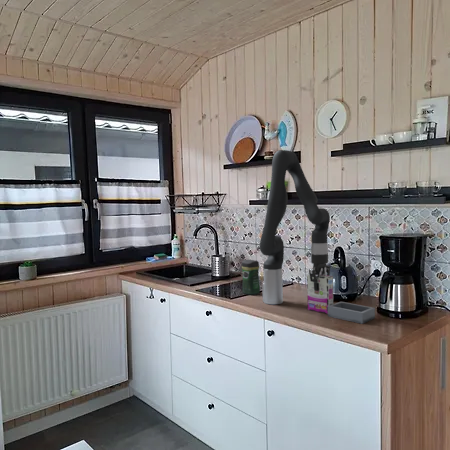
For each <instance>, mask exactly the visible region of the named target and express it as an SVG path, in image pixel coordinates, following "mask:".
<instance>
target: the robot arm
mask: <svg viewBox="0 0 450 450" xmlns="http://www.w3.org/2000/svg"><path fill="white" fill-rule="evenodd" d="M271 160H272V161H271V162H272V163H271V176H270V177H271V180H270V187H269V193H268V194H269V195H268V199H267V200H268V201H267V206H266V213H265V214H266V215H265V218H264V219H265V220H264V223H263V224H264V225H263V229H262V233H261V236H260V240H259V241H260V242H259V250H260V252H261V254H262V255H264V256H267V259H266V260H264V261H263V263H262V265H263V266H262V268H263V270H262V271H263V282H262V284H261V285H262V287H261V289H262V292H261V293H262V302H263V303H264V304H265V305H280V304H283V303H284V299H283V298H284V296H283V293H284V292H283V263H284V259H285V257H284V256H285V255H284V254H285V247H284V245H285V243H284V241H283V238H281V237H280V235H277V229H278V228H279V225H280V223H281V221H282V220H283V218H284V217H285V214H286V211H287V206H288V197H289V196H288V192H287V186H286V174H287V172H288V173H289V175H290V176H291V178H292V180H293V183H294V188H295V193H296V195H297V198H298V199H299V200H300V202H301V204H302V205H303V208H304V211H305V215H306V217H307V219H308V221H309V222H310V223H311V224H312V225H314V229H313V230H312V231H311V246H310V254H311V255H310V256H311V257H310V258H311V259H310V260H311V264H313V265H312V268H309V269H308V273H309V274H308V275H310V281H311V282H314V290H315V291H319V278H320V277H321V275H327V276H331V275H330V274H331V273H330V272H331V265H327V264H328V263H329V245H328V230H329V228H330V227H329V226H330V217H331V216H330V213H329V211H328V210H327V209H325V208H323V207H322V208H319V205H318V202H319V200H318V197H317V195H316V193H315V191H314V190H313V189H312V186H310V183H309V182H308V180H307V177H306V176H305V173H304V171H303V167H302V166H301V163H300V160H299V158H298V157H297V154H296V153H295V152H294V151H292V150H287V149H279V150H277V151H276V152H275V153H274V155H273V157H272V159H271ZM316 275H318V276H316ZM312 277H313V278H312ZM316 277H317V280H316Z"/></svg>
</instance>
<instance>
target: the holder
mask: <svg viewBox="0 0 450 450" xmlns="http://www.w3.org/2000/svg"><path fill="white" fill-rule="evenodd" d="M375 312H376V308H375V307H373V306H367V305H363V304H362V305H361V304H356V303H350V302H345V301H339V302H336V303H333V304H332V305H330V306H328V314H327V317H329V318H335V319H339V320H343V321H348V322H353V323H357V324H359V325H360V324H361V325H363V324H366V323H367V322H370V321H373V320H374V319H375V318H376V313H375Z"/></svg>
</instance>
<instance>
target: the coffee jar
mask: <svg viewBox="0 0 450 450" xmlns="http://www.w3.org/2000/svg"><path fill="white" fill-rule="evenodd" d="M259 270H260V262H259V261H258V260H255V259H243V260H242V261H241V271H242V285H241V286H242V288H241V289H242V293H243V294H245V295H258V294H260V293H261V289H260V288H261V287H260V277H259Z"/></svg>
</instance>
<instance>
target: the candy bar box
mask: <svg viewBox="0 0 450 450" xmlns="http://www.w3.org/2000/svg"><path fill="white" fill-rule="evenodd" d="M316 276H318V275H316ZM312 278H313V277H312ZM316 280H317V277H316ZM306 284H307V285H306V289H307V290H306V291H307V292H306V293H307V294H306V295H307V296H306V297H307V310H308V311H312V312H317V313H323V314H327V315H328V306H330V305H332V304H334V275H329V276H327V275H321V277H320V278H319V291H315V290H314V282H311V281H310V275H309V274H307V275H306Z"/></svg>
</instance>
